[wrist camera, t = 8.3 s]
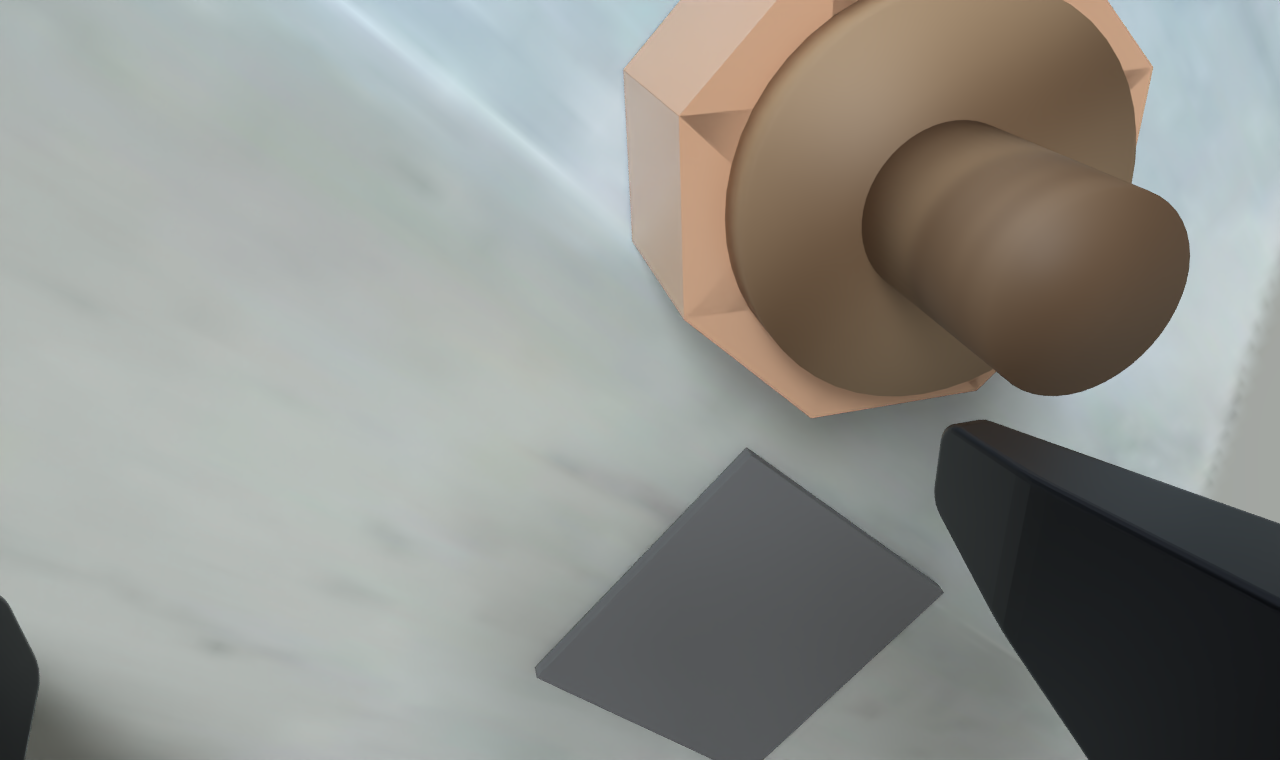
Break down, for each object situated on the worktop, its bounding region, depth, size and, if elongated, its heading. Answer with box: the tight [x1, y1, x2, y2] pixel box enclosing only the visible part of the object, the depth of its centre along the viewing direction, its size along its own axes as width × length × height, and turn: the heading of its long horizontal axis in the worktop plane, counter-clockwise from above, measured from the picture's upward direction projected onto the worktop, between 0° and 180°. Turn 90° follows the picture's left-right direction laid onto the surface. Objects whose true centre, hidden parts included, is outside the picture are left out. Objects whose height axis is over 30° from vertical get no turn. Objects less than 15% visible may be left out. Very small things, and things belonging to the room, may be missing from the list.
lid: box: [725, 0, 1190, 396], centre depth 15 cm, size 8×8×5 cm
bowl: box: [623, 0, 1153, 418], centre depth 19 cm, size 9×9×4 cm
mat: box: [535, 448, 944, 760], centre depth 28 cm, size 9×9×1 cm
